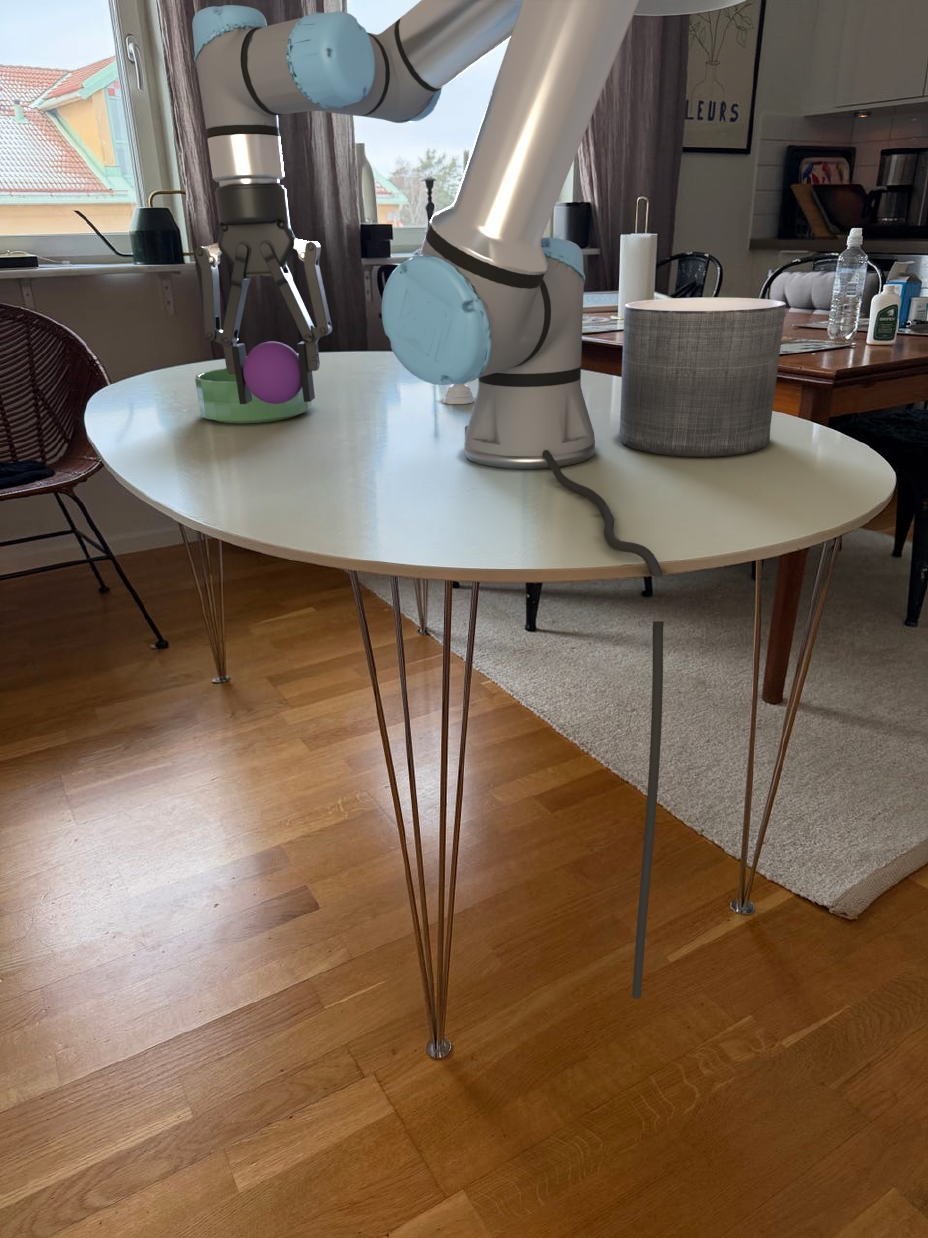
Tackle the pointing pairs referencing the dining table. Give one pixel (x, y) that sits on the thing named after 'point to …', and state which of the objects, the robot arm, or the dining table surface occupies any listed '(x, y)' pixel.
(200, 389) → the bowl
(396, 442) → the dining table surface
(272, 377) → the ball
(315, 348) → the robot arm
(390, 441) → the dining table surface
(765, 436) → the planter
